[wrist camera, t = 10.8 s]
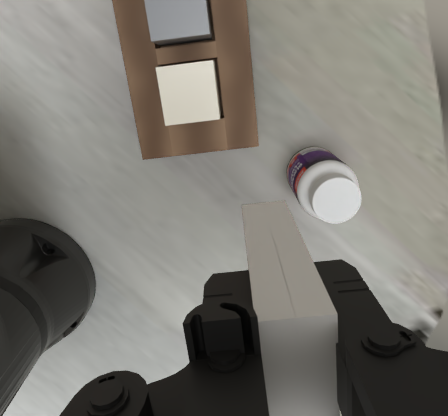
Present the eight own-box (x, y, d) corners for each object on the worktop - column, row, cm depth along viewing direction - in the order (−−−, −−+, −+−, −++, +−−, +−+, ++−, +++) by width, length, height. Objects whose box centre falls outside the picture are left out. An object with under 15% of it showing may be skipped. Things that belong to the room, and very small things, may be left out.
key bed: (149, 152, 39) (142, 159, 36) (96, -135, 31) (81, -160, 28) (256, 140, 39) (258, 146, 35) (229, -155, 31) (230, -183, 27)
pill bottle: (283, 150, 39) (300, 174, 30) (335, 142, 39) (369, 163, 29) (288, 200, 41) (307, 236, 31) (339, 192, 40) (372, 226, 31)
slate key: (161, 46, 34) (151, 41, 29) (152, -12, 33) (139, -27, 28) (212, 39, 34) (209, 33, 29) (205, -19, 32) (201, -35, 28)
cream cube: (173, 119, 36) (165, 125, 31) (165, 68, 35) (155, 67, 30) (220, 113, 36) (220, 119, 31) (214, 62, 34) (212, 60, 30)
